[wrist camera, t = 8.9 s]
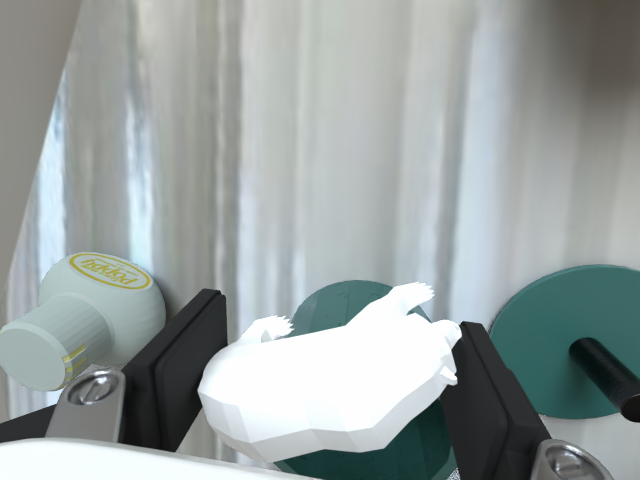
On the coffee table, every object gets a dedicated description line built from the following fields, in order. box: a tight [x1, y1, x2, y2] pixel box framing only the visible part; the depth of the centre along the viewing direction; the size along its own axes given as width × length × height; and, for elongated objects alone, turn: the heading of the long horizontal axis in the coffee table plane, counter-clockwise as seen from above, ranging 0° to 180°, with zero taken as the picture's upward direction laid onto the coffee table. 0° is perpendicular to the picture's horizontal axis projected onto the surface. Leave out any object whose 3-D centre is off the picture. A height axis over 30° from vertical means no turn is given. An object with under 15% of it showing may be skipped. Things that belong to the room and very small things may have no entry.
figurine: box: [197, 281, 462, 463], centre depth 10 cm, size 2×8×5 cm, turn 109°
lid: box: [489, 265, 640, 423], centre depth 25 cm, size 15×15×7 cm
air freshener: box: [0, 252, 166, 391], centre depth 28 cm, size 11×8×10 cm
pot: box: [273, 280, 457, 480], centre depth 26 cm, size 14×19×10 cm
